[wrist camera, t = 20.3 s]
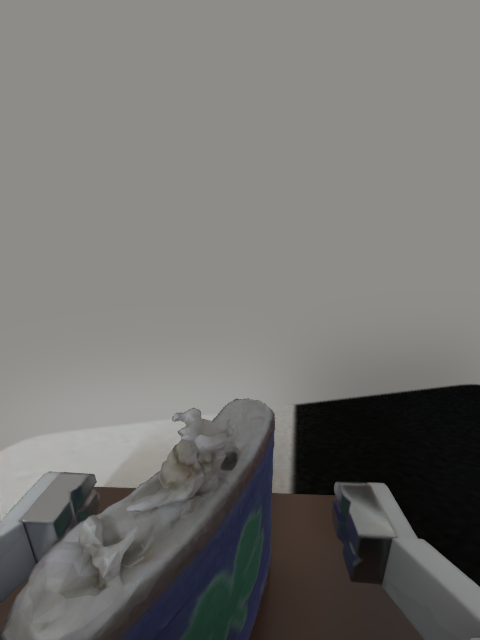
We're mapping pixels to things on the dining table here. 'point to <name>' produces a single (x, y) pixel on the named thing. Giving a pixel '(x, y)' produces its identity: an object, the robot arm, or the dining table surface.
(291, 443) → the dining table surface
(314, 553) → the cutting board
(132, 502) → the flask
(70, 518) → the robot arm
